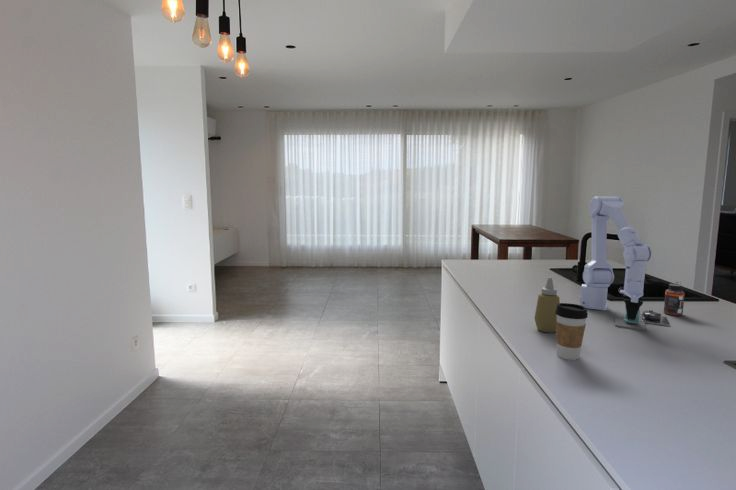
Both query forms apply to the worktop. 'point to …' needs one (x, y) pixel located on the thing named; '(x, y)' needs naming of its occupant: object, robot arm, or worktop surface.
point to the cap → (633, 320)
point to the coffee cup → (570, 329)
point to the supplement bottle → (674, 300)
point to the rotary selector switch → (653, 318)
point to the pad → (630, 324)
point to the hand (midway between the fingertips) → (630, 317)
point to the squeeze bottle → (547, 308)
